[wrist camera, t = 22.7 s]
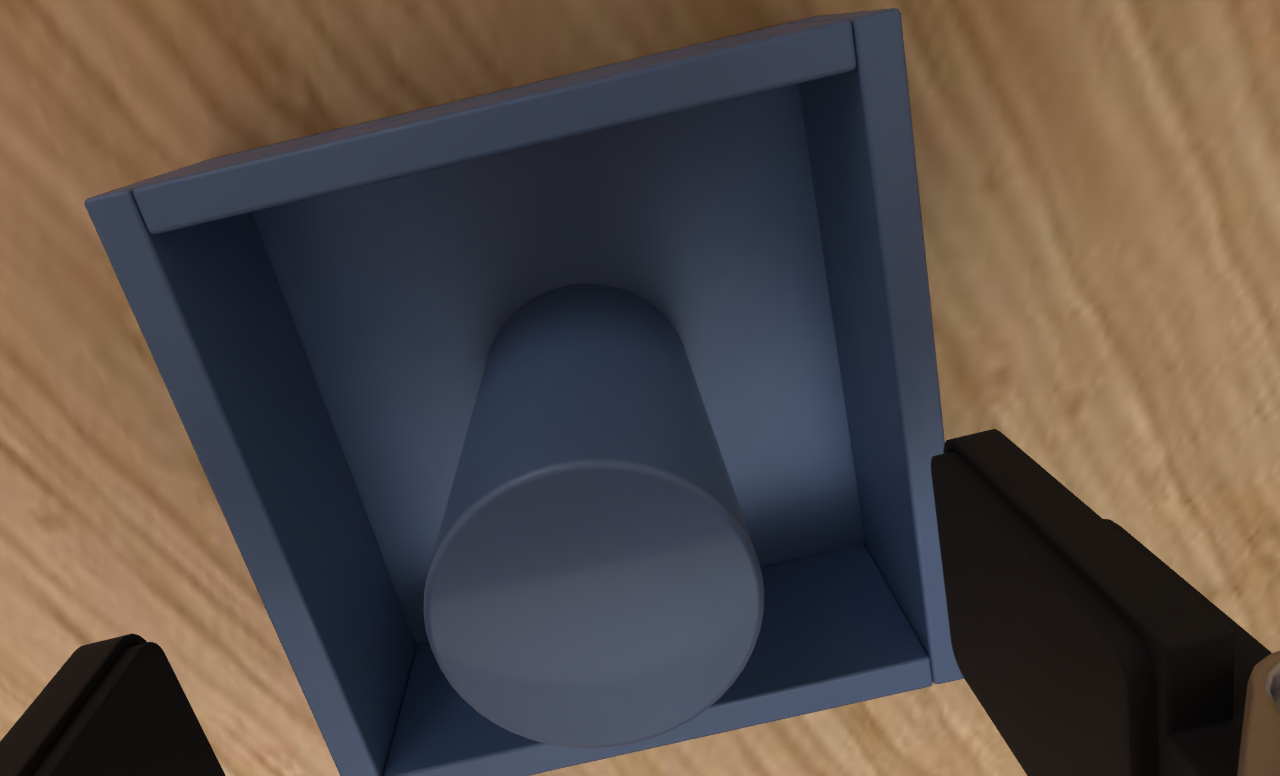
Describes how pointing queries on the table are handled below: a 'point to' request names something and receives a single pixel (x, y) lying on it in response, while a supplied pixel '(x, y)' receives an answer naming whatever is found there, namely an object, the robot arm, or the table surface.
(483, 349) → the slate bin
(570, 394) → the slate peg
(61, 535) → the table surface
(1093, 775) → the robot arm
